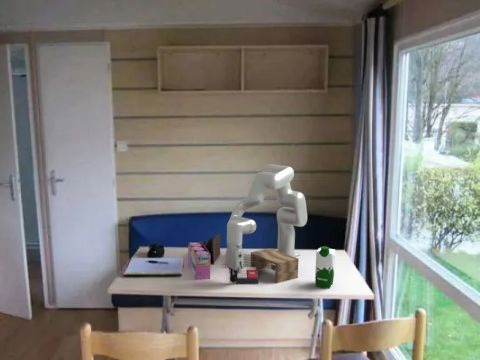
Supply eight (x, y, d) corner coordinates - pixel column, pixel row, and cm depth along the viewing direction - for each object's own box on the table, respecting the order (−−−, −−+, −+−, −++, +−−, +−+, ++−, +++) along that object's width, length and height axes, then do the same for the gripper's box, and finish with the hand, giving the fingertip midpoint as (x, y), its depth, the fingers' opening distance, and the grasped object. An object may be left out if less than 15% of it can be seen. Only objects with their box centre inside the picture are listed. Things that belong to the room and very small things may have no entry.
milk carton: (313, 286, 229) (314, 247, 226) (317, 280, 237) (319, 242, 234) (330, 289, 225) (332, 250, 222) (335, 283, 233) (337, 245, 230)
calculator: (236, 277, 230) (236, 265, 245) (236, 285, 231) (236, 273, 245) (258, 277, 230) (256, 265, 245) (258, 285, 231) (256, 273, 246)
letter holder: (220, 254, 278) (220, 231, 276) (213, 265, 258) (214, 240, 256) (204, 253, 279) (204, 230, 277) (196, 264, 260) (196, 239, 257)
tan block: (270, 265, 258) (270, 248, 257) (297, 277, 240) (298, 258, 239) (250, 270, 250) (250, 252, 248) (277, 283, 232) (277, 263, 231)
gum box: (187, 265, 257) (187, 241, 255) (201, 264, 259) (201, 240, 257) (195, 280, 234) (195, 254, 232) (210, 279, 237) (211, 253, 235)
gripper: (249, 248, 223) (248, 284, 226) (231, 241, 235) (231, 275, 238) (237, 250, 219) (236, 287, 222) (219, 243, 231) (218, 278, 234)
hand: (233, 281), depth 230 cm, fingers closed
